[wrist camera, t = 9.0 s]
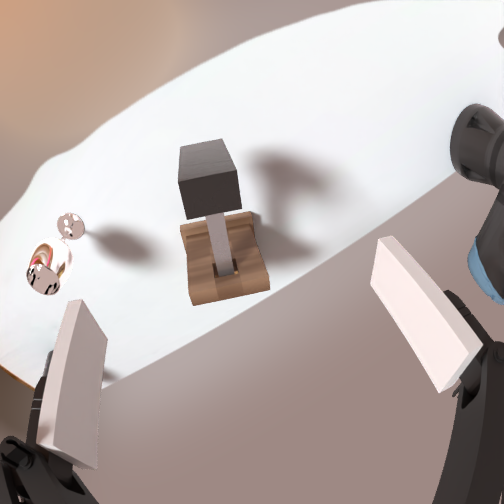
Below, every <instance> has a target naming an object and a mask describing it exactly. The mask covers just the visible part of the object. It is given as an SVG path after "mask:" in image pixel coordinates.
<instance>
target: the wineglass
mask: <svg viewBox="0 0 504 504" xmlns="http://www.w3.org/2000/svg"><path fill="white" fill-rule="evenodd" d="M57 228H58V230H59V232H60V234H61V235H62V236H63V237H62V238H61V239H58V238H52V237H51V238H46V239H44V240H42V241H40V242H39V243H38V244H37V245H36V247H35V248H34V250H33V252H32V254H31V256H30V259H29V263H28V267H27V273H26V276H27V280H28V282H29V284H30V285H31V287H32V288H33V289H35V290H36V291H37V292H39V293H41V294H44V295H54V294H56V293H57V292H58V291H59V290H60V289H61V287H62V286H63V285H64V284H65V282H66V281H67V279H68V277H69V275H70V273H71V271H72V267H73V255H72V252H71V250H70V248H69V246H68V245H67V244H66V243H65V239H66V238H67V239H70V240H75V239H78V238H80V237H81V236H82V234H83V232H84V225H83V222H82V220H81V219H80V218H79V217H78V216H77V215H75V214H73V213H64V214H62V215H61V216H60V217H59V219H58V221H57Z"/></svg>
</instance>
